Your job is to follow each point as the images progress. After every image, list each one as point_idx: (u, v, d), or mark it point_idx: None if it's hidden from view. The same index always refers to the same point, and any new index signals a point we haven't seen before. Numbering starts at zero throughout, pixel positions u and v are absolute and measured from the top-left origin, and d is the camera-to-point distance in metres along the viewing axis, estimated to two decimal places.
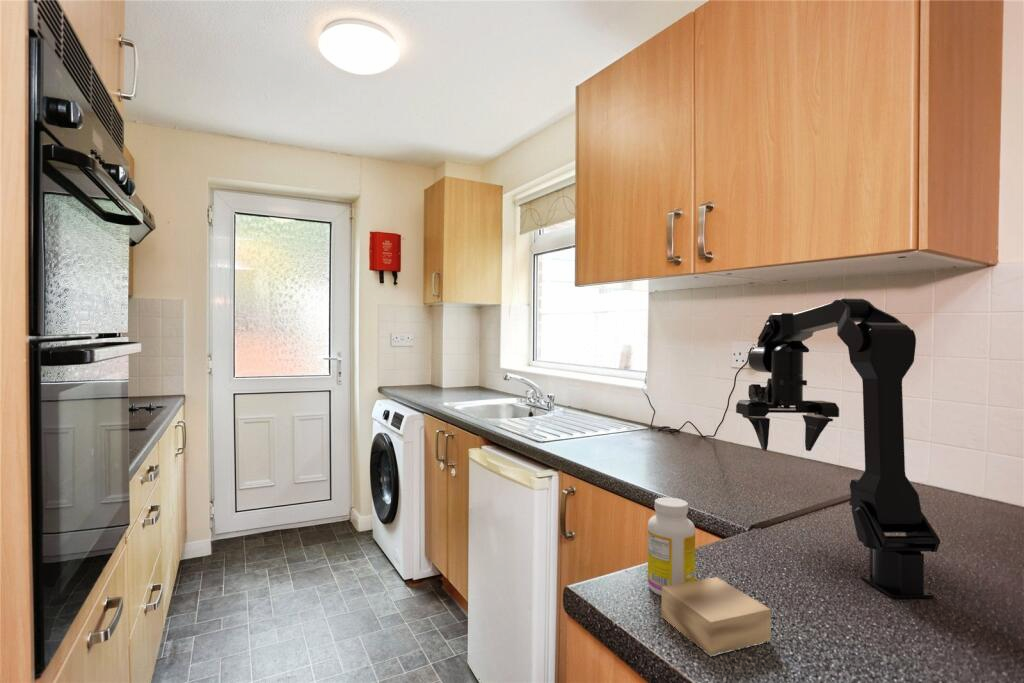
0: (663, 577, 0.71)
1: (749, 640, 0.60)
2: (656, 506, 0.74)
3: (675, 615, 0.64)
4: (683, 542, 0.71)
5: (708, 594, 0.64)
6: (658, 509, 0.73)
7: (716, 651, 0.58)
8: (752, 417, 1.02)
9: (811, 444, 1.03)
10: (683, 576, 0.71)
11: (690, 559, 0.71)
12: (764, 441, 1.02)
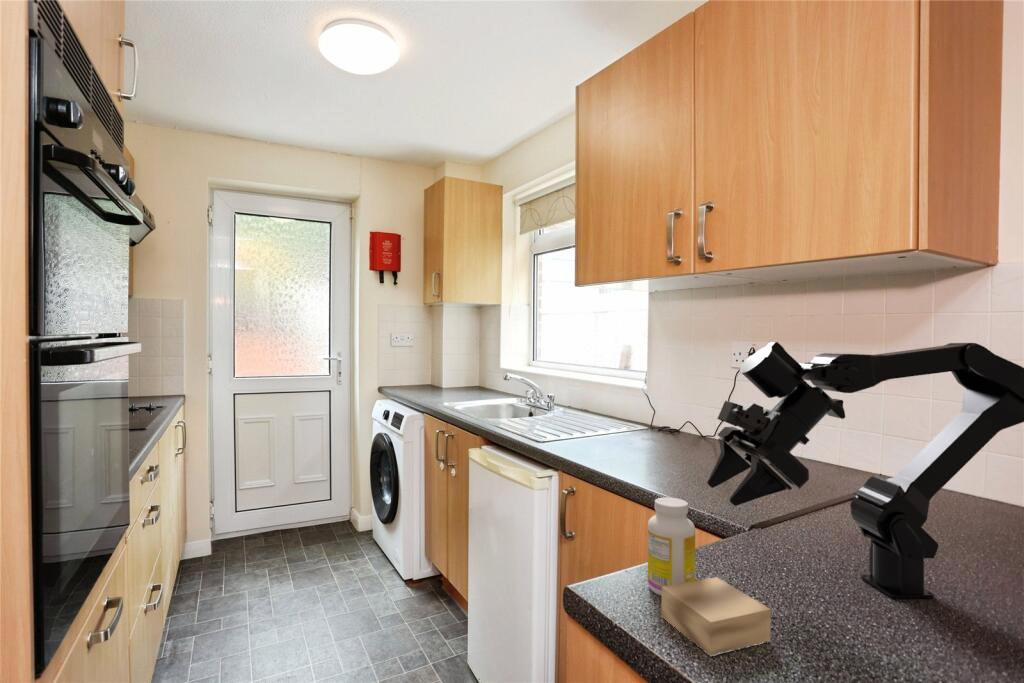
0: (663, 577, 0.71)
1: (749, 640, 0.60)
2: (656, 506, 0.74)
3: (675, 615, 0.64)
4: (683, 542, 0.71)
5: (708, 594, 0.64)
6: (658, 509, 0.73)
7: (716, 651, 0.58)
8: (786, 482, 0.68)
9: None
10: (683, 577, 0.71)
11: (690, 559, 0.71)
12: (750, 500, 0.71)
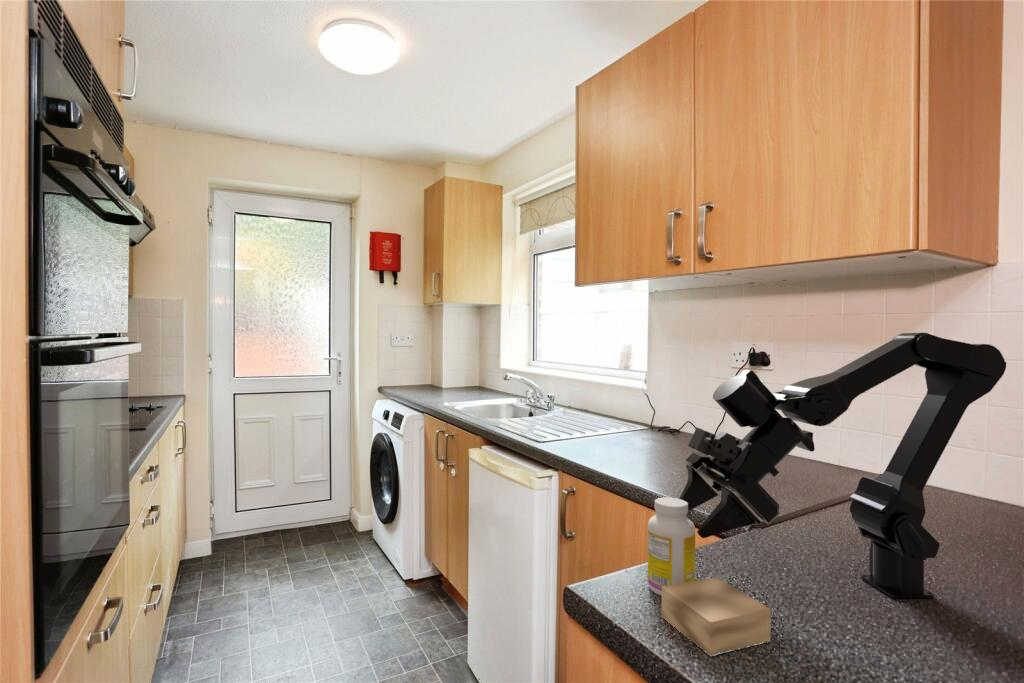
0: (663, 577, 0.71)
1: (749, 640, 0.60)
2: (656, 506, 0.74)
3: (675, 615, 0.64)
4: (683, 542, 0.71)
5: (708, 594, 0.64)
6: (658, 509, 0.73)
7: (716, 651, 0.58)
8: (756, 516, 0.67)
9: None
10: (683, 576, 0.71)
11: (690, 559, 0.71)
12: (718, 533, 0.69)
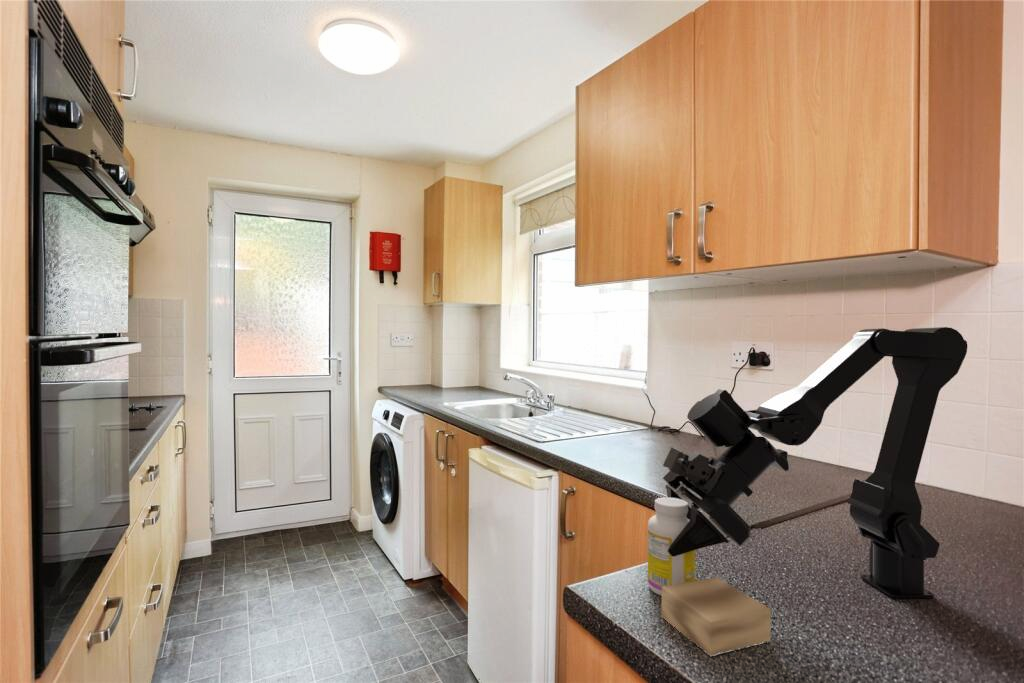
0: (663, 577, 0.71)
1: (749, 640, 0.60)
2: (656, 506, 0.74)
3: (675, 615, 0.64)
4: None
5: (708, 594, 0.64)
6: (658, 509, 0.73)
7: (716, 651, 0.58)
8: (723, 535, 0.68)
9: None
10: (683, 576, 0.71)
11: (690, 559, 0.71)
12: (688, 551, 0.70)
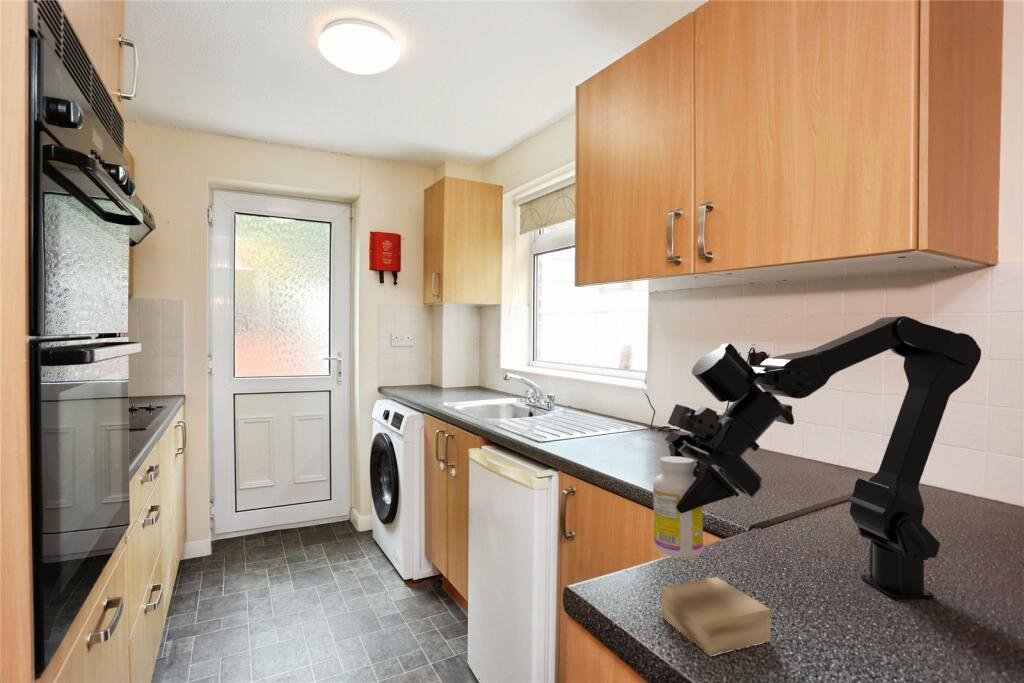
0: (671, 535, 0.69)
1: (749, 640, 0.60)
2: (662, 464, 0.72)
3: (675, 615, 0.64)
4: None
5: (708, 594, 0.64)
6: (664, 466, 0.72)
7: (716, 651, 0.58)
8: (733, 488, 0.66)
9: None
10: (691, 534, 0.69)
11: (698, 516, 0.70)
12: (697, 507, 0.68)
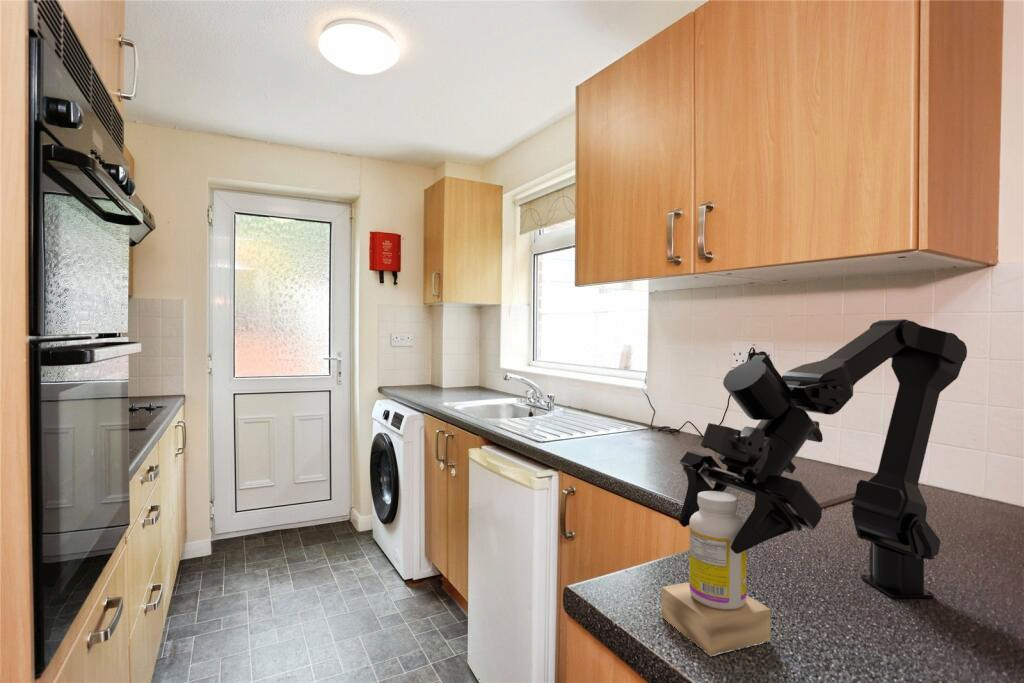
0: (719, 586, 0.60)
1: (749, 640, 0.60)
2: (704, 502, 0.63)
3: (675, 615, 0.64)
4: None
5: None
6: (707, 505, 0.62)
7: (716, 651, 0.58)
8: (797, 522, 0.58)
9: None
10: (740, 582, 0.61)
11: (745, 561, 0.61)
12: (753, 545, 0.59)
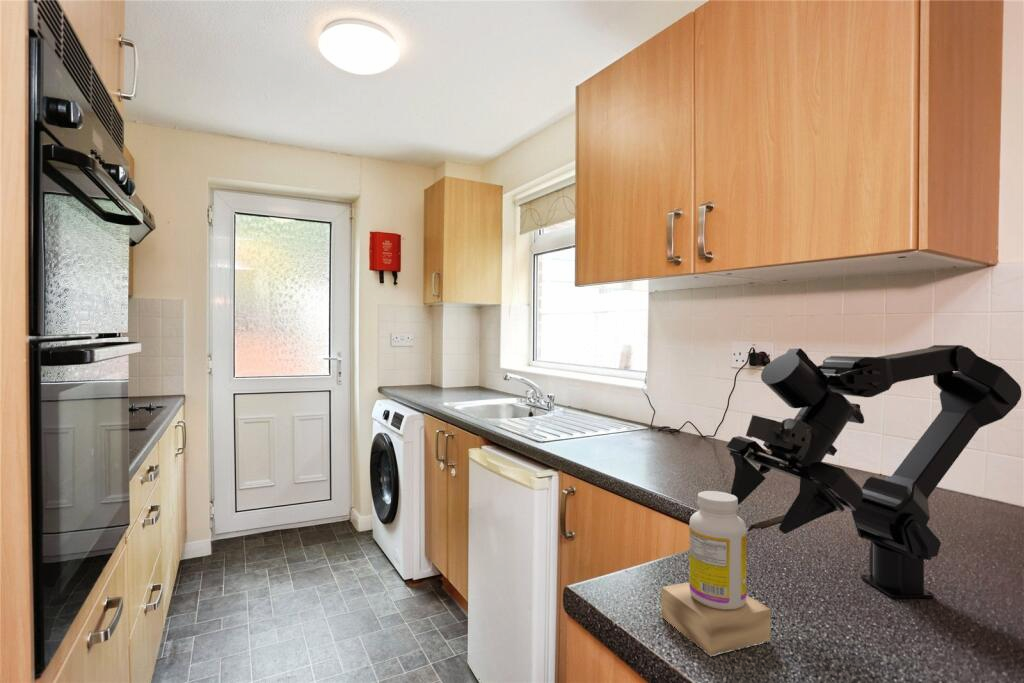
0: (719, 586, 0.60)
1: (749, 640, 0.60)
2: (704, 502, 0.62)
3: (675, 615, 0.64)
4: (740, 542, 0.61)
5: None
6: (707, 506, 0.62)
7: (716, 651, 0.58)
8: (840, 504, 0.64)
9: None
10: (740, 582, 0.61)
11: (745, 561, 0.61)
12: None
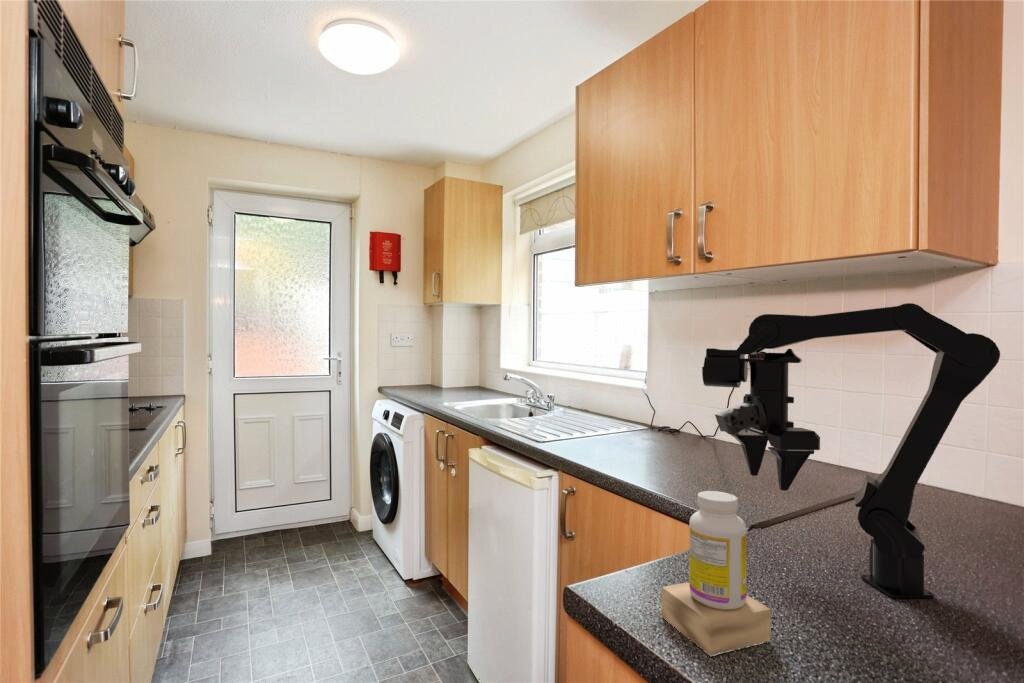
0: (719, 586, 0.60)
1: (749, 640, 0.60)
2: (704, 503, 0.62)
3: (675, 615, 0.64)
4: (740, 542, 0.61)
5: None
6: (707, 506, 0.62)
7: (716, 651, 0.58)
8: (807, 450, 0.77)
9: None
10: (740, 582, 0.61)
11: (745, 561, 0.61)
12: (794, 478, 0.80)
